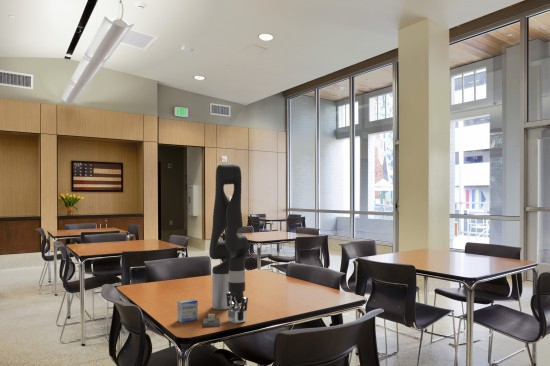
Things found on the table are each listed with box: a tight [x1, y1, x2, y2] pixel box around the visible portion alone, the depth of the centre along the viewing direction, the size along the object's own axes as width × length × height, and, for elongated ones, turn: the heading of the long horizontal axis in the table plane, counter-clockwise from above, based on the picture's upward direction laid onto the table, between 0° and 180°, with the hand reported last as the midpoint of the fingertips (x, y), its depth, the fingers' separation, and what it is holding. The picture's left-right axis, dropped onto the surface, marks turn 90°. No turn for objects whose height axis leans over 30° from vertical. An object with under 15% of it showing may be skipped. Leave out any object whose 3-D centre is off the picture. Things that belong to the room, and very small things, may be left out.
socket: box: [227, 307, 247, 325], centre depth 172 cm, size 6×6×5 cm
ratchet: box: [202, 313, 221, 328], centre depth 172 cm, size 15×7×4 cm, turn 9°
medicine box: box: [176, 298, 199, 324], centre depth 174 cm, size 8×4×9 cm, turn 126°
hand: (236, 318), depth 172 cm, fingers closed on socket, 5 cm apart
